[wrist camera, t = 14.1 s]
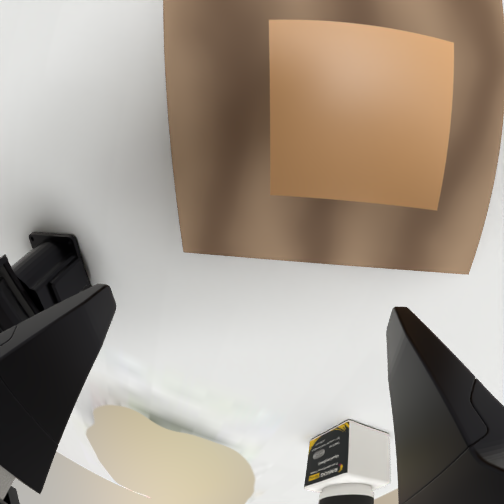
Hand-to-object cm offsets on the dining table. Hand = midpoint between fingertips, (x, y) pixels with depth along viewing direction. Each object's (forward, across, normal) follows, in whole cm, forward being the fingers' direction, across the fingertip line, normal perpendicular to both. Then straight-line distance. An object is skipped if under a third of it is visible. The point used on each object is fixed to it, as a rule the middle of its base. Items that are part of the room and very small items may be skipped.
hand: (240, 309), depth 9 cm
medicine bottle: (+12, -9, +30) cm, 33 cm away
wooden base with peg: (+12, -4, -5) cm, 13 cm away
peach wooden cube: (+9, -4, -5) cm, 11 cm away
